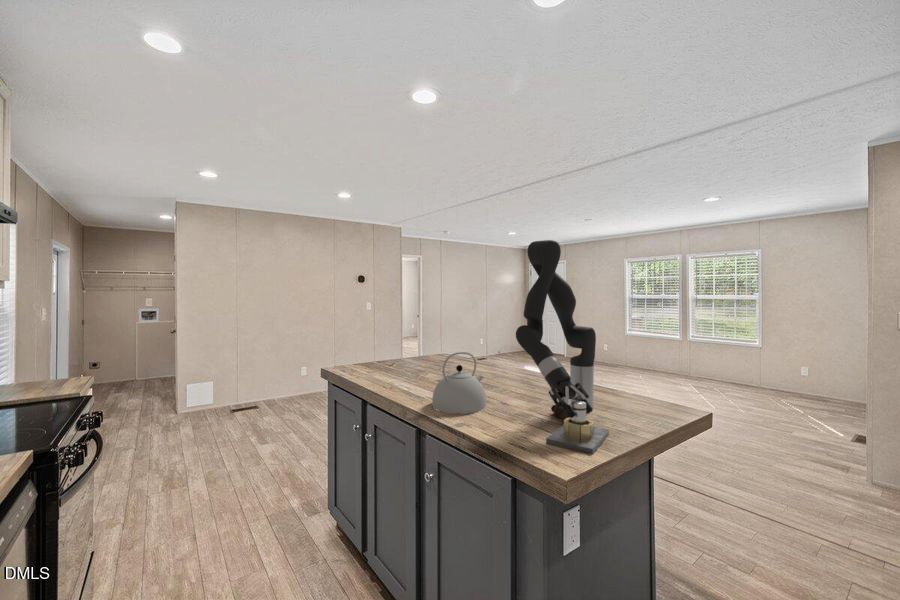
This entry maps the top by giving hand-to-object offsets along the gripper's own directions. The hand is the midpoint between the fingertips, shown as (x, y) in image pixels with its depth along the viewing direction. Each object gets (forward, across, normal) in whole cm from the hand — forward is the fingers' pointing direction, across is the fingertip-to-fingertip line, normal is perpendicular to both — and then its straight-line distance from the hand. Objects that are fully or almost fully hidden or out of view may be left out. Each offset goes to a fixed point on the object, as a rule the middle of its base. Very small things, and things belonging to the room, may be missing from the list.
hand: (582, 414), depth 123 cm
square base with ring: (+5, 0, +7) cm, 8 cm away
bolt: (-6, +12, +18) cm, 23 cm away
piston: (+4, 0, +6) cm, 7 cm away
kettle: (-32, -8, +44) cm, 55 cm away
